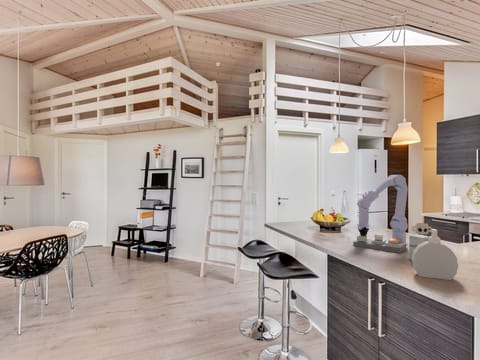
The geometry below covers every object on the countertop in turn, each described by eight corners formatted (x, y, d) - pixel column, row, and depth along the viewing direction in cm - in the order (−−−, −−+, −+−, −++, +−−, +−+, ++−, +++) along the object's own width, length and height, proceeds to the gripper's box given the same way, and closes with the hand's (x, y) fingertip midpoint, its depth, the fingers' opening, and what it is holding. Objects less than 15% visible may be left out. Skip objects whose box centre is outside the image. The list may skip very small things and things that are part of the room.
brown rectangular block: (393, 242, 180) (393, 237, 180) (402, 244, 177) (402, 239, 177) (388, 245, 173) (388, 240, 173) (397, 246, 170) (397, 241, 170)
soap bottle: (454, 277, 126) (455, 230, 126) (458, 281, 121) (458, 232, 121) (411, 272, 132) (411, 227, 132) (413, 275, 127) (413, 229, 127)
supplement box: (408, 259, 154) (408, 235, 154) (417, 257, 157) (418, 234, 157) (422, 263, 147) (422, 237, 147) (431, 261, 150) (432, 236, 150)
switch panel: (361, 242, 195) (361, 235, 195) (405, 248, 178) (405, 241, 178) (353, 245, 185) (353, 238, 185) (399, 252, 167) (399, 245, 167)
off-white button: (376, 238, 184) (376, 233, 184) (383, 239, 181) (383, 234, 181) (373, 239, 180) (373, 234, 180) (381, 240, 177) (381, 235, 177)
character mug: (412, 244, 190) (413, 223, 190) (410, 242, 197) (411, 222, 197) (432, 245, 186) (433, 224, 186) (430, 243, 193) (430, 223, 193)
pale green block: (358, 239, 187) (358, 235, 187) (366, 240, 184) (366, 236, 184) (356, 240, 185) (356, 236, 185) (365, 241, 182) (365, 237, 182)
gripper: (361, 216, 195) (361, 237, 195) (352, 218, 184) (352, 240, 184) (372, 217, 190) (372, 238, 190) (364, 219, 179) (364, 242, 179)
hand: (363, 239), depth 187 cm, fingers closed
